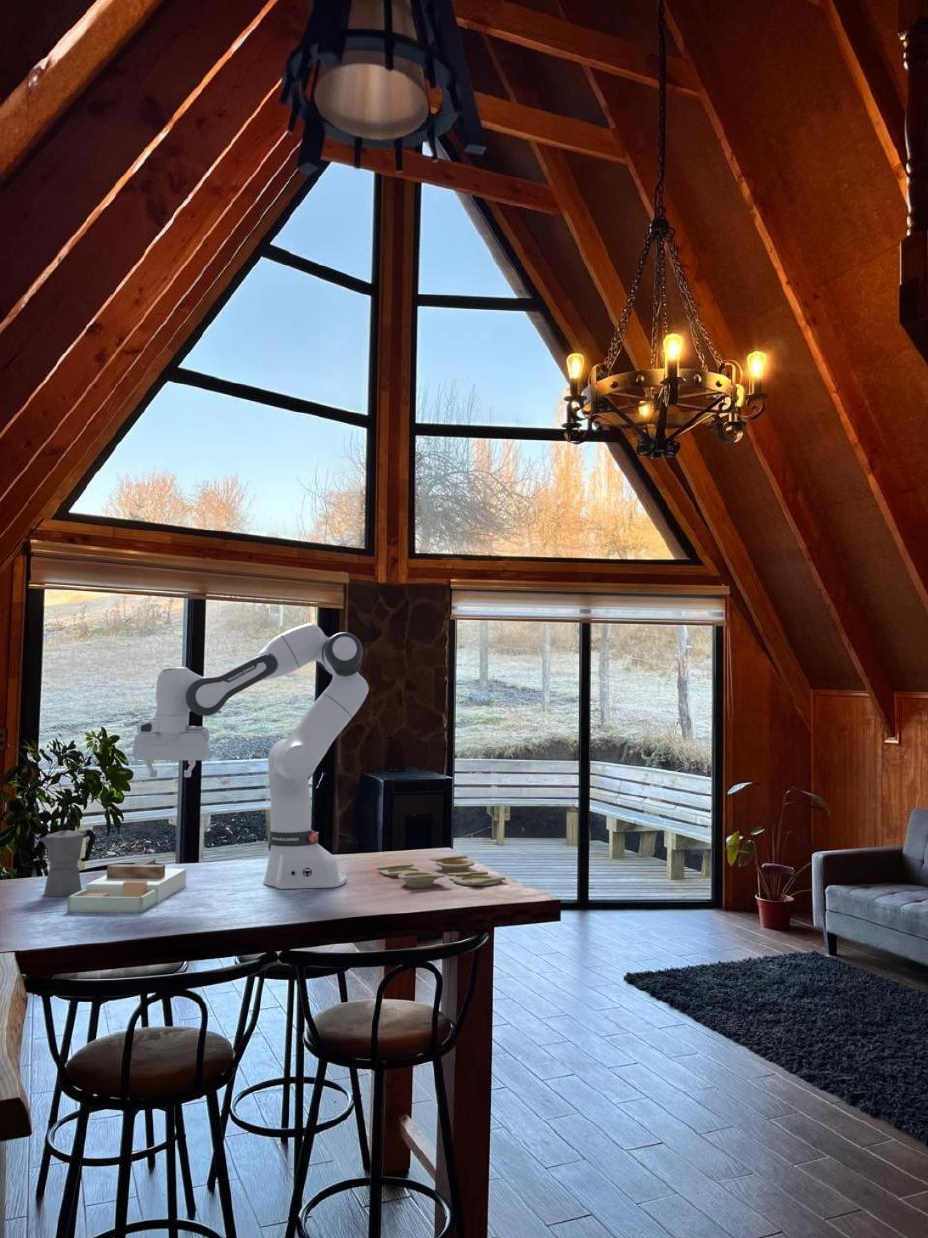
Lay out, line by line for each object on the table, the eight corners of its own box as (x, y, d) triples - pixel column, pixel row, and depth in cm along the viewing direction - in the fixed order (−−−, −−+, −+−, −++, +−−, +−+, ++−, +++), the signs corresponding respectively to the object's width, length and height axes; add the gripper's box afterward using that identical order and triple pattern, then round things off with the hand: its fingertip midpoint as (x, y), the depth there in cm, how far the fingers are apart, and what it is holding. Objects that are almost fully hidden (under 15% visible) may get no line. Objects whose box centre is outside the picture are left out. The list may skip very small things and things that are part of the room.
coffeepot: (48, 900, 233) (51, 827, 234) (28, 895, 238) (31, 824, 240) (104, 890, 245) (106, 821, 246) (83, 885, 251) (86, 818, 252)
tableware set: (511, 887, 252) (511, 872, 252) (409, 895, 241) (409, 880, 241) (464, 865, 284) (464, 851, 285) (372, 871, 274) (372, 857, 274)
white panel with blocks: (185, 885, 250) (186, 869, 251) (157, 903, 230) (157, 885, 230) (120, 885, 251) (120, 868, 252) (85, 902, 230) (86, 884, 231)
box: (157, 903, 230) (157, 889, 230) (141, 913, 220) (142, 898, 220) (85, 902, 230) (86, 888, 231) (67, 912, 220) (67, 897, 221)
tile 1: (147, 881, 229) (143, 883, 227) (146, 901, 229) (142, 903, 226) (127, 880, 229) (123, 882, 227) (126, 901, 229) (122, 903, 227)
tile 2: (99, 897, 222) (99, 908, 222) (108, 893, 227) (108, 903, 227) (79, 897, 222) (79, 908, 222) (88, 893, 227) (88, 903, 227)
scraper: (175, 870, 248) (175, 859, 248) (160, 879, 237) (160, 867, 237) (124, 870, 249) (124, 859, 249) (106, 878, 238) (107, 866, 238)
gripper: (212, 725, 257) (211, 776, 256) (140, 725, 258) (138, 775, 256) (205, 726, 250) (204, 778, 249) (131, 726, 251) (129, 777, 250)
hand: (170, 777), depth 253 cm, fingers open, 8 cm apart
